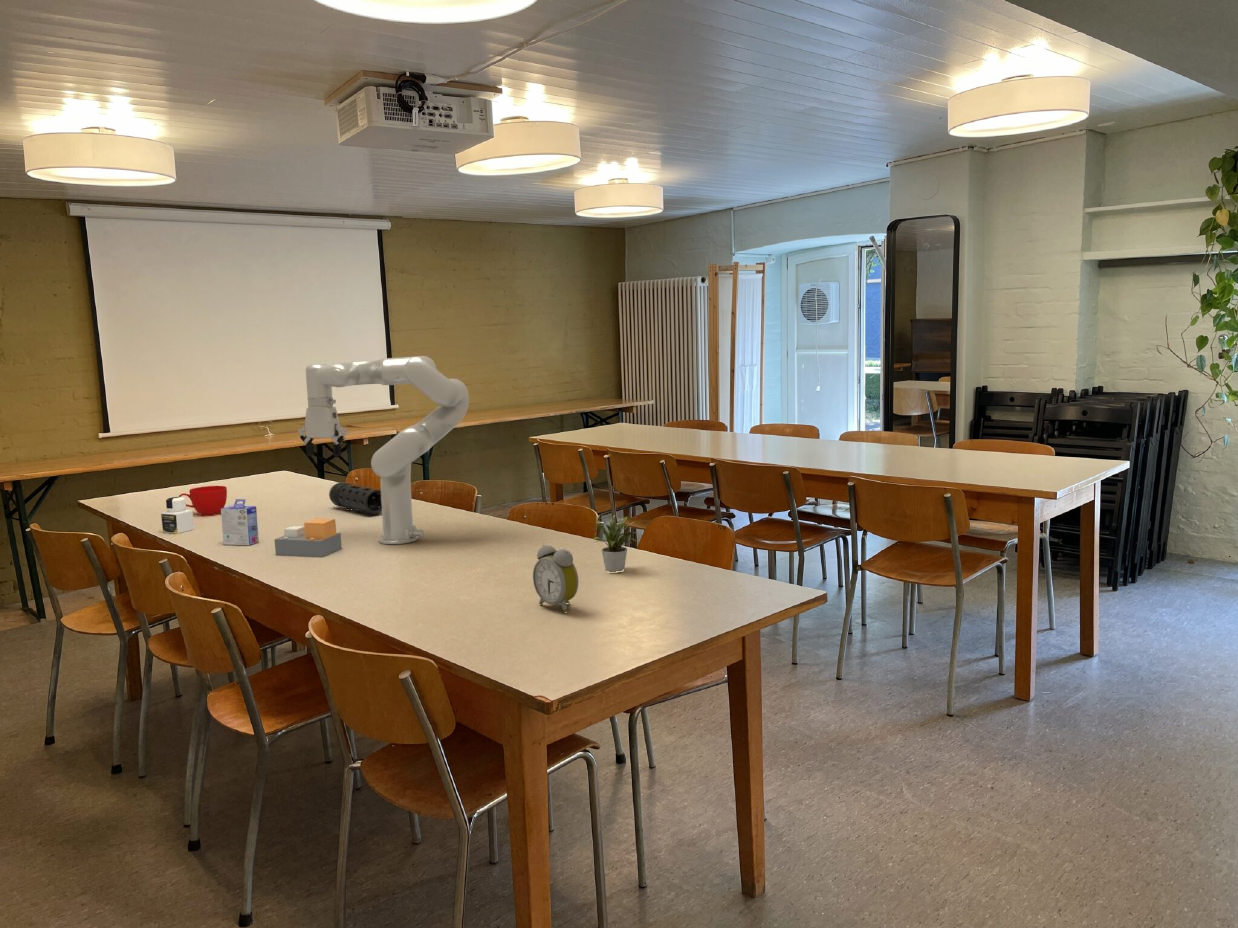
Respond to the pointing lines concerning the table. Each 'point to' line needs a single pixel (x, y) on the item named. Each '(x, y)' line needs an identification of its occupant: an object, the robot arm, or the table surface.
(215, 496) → the ceramic cup
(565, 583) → the alarm clock
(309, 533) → the cap
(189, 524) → the medicine bottle
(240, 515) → the ink cartridge box
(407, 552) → the table surface
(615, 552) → the house plant
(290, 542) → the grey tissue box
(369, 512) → the muzzle brake
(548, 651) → the table surface
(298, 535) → the white cube
